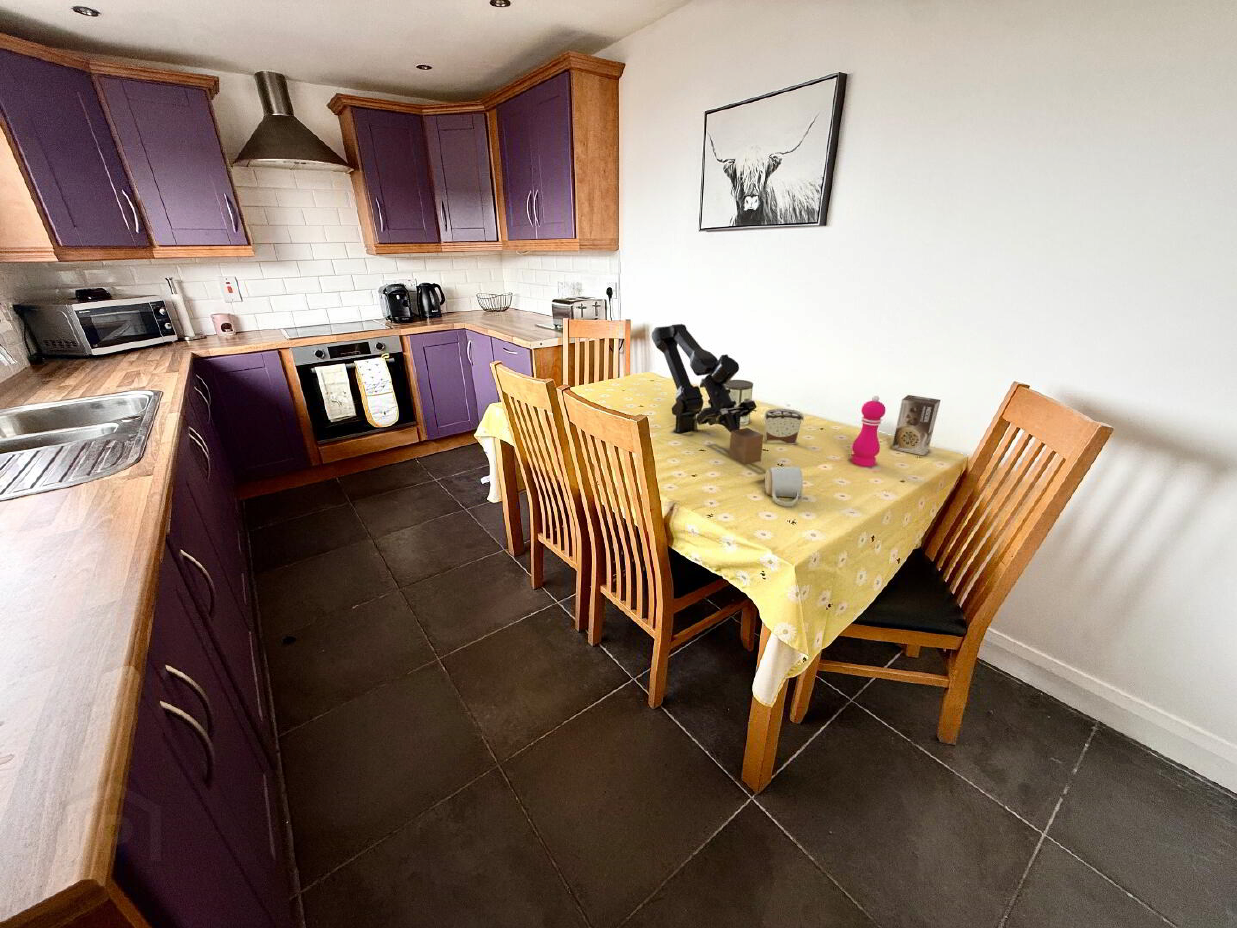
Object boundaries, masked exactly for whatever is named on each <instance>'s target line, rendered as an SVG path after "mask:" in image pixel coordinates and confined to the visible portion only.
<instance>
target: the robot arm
mask: <svg viewBox="0 0 1237 928" xmlns="http://www.w3.org/2000/svg"><path fill="white" fill-rule="evenodd" d="M651 339H652V341H653V344H654V345H655V347H656V348H657V349H658V350H659V352H661V353H662V354H663V356H664V359H665V361H666V364H667V366H668V369H669V371H670V374H671V377H672V380H673V382H674V385H675V388H676V394H675V403H674V404H673V406H672V407H671V414H672V415H673V416H675V428H674V430H673V433H676V434H687V433H692V432H697V431H698V426H701V425H709V426H714V425H721V426H723V427H724V428H725V429H726V430H727V431H728V432H729V433H730V434H731V431H733V430H738V429H741V423H740V418H741V417H745V416H748V415H749V414H750V415H751V413H753V412H754V410H756V409H757V408H758V405H757V403H756V402H755V400H752V399H751V400H749V401H744V402H742V403H741V404H740V405H739V406H738V407H734V406H735V405H736V401H732V400H731V397H730V395H729V393H730V392H731V391H730V389H726V387H725V385H724V384H726V383H728V382H729V381H730V380H732V378H733V377H734V376H735V375H737V373H738V372H739V371H740V365H739V362H737V361H736V360H735V359H734V358H732V357H730V356H729V355H728V354H727V353H725V354H721V355H720V357H719V358H717V356H715V354H713V353H712V352H710V351H709V350H706V349H704V348H703V347H702V346H700V344H699V343H698V342H697V341H696V339H695V338H694V336H693V335H692V334H691V333H690V332H689V330H688V328H687V326H686V325H685V324H684V323H675V324H671V325H665V326H657V327H654V328H653V331H652V332H651ZM678 346H679V347H680V348H681V350H682V351H683V352H684V353H685V355H686V357H688V359H689V366H690V369H691V370H692V372H693V373H694V375H695V376H697V377H701V376H705V377H704V378H701V379H700V383H699V386H698V385H695V386H694V385H693V384H692V383H691V381H690V378H689V374H688V372H687V370H686V368H685V367H686V366H685V364H684V362H683V359H682V356H681V355H680V351H679V349H678ZM700 388H701V389H702V388H704V389H705V391H706V393H707V395H708V398H709V399H708V400H707V404H708V407H704V408H703V406H704V403H705V401H704V398H703V397H704V396H703V394H702V393H701V389H700Z"/></svg>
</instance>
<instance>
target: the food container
mask: <svg viewBox="0 0 1237 928" xmlns="http://www.w3.org/2000/svg"><path fill="white" fill-rule="evenodd" d="M804 419H805V418H804V414H803V413H802V412H801V411H798V410H794V409H789V408H772V409H768V410H766V412H765V413H764V416H763V420H765V434H764V435H765V440H766V441H780V442H783V443H786V444H788V445H796V444H797V441H798V436H799V433H800V429H801V425H802V421H805V420H804Z"/></svg>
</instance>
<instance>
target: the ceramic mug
mask: <svg viewBox="0 0 1237 928" xmlns="http://www.w3.org/2000/svg"><path fill="white" fill-rule="evenodd" d="M764 486H765V493H766V494H767V495H768V496H771V497H772V499H773V501H774V503H776V504H777V505H779V506H781V507H786V508H788V507H793V506H795V505H796V503H797V502H798V500H799V498H800V497H801V496H802V493H803V488H804V487H803V486H804V479H803V471H802V468H801V467H800V466H783V467H782V466H778V467H777V466H775V467H769V468H767V469H766V471H765V476H764ZM778 497H781V498H782V497H784V498H794V499H793V500H791V501H782V500H781V499H779V498H778Z"/></svg>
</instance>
